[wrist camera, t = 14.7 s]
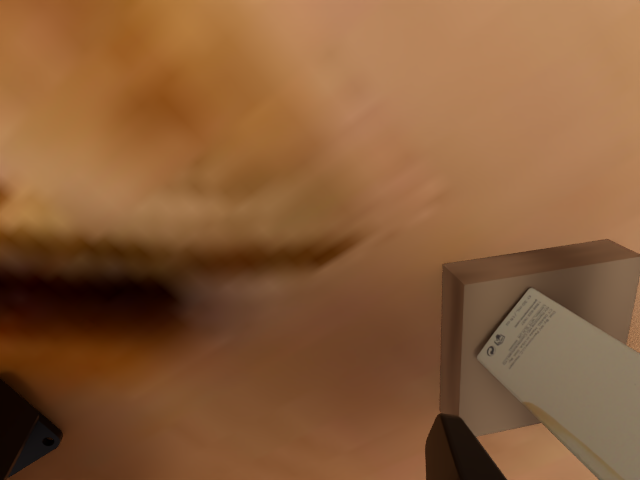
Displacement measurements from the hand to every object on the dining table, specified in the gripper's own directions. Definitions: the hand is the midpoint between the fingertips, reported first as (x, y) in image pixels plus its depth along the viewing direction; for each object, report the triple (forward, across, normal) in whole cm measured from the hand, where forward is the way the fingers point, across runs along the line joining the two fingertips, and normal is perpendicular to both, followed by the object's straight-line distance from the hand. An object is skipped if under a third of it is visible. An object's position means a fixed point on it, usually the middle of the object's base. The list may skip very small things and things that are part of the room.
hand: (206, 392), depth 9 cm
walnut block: (+14, -14, +8) cm, 21 cm away
